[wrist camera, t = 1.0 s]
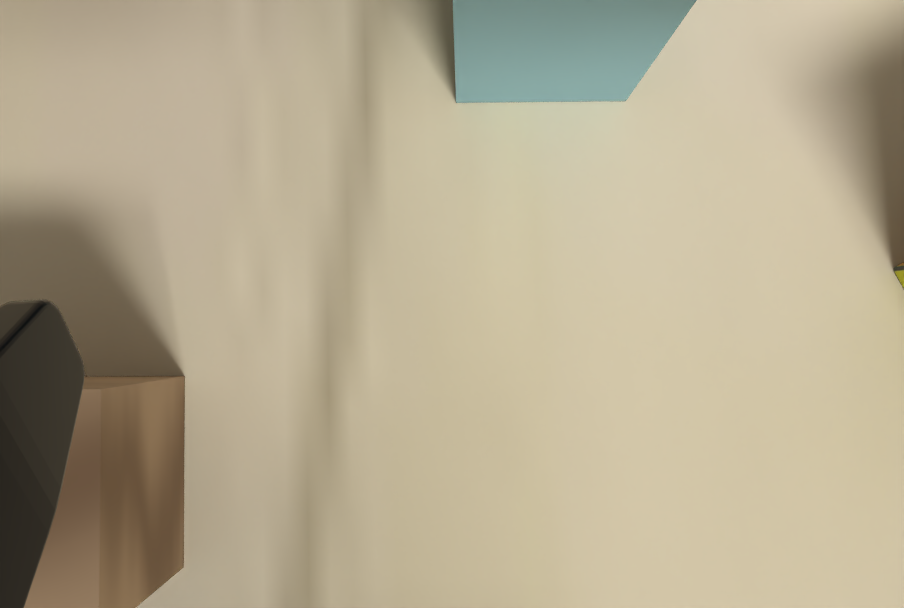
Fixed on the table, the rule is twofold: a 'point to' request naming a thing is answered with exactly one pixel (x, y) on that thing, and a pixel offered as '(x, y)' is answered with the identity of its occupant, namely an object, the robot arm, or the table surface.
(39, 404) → the robot arm
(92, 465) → the walnut cube
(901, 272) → the puzzle toy
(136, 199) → the table surface
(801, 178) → the table surface
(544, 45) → the teal block
